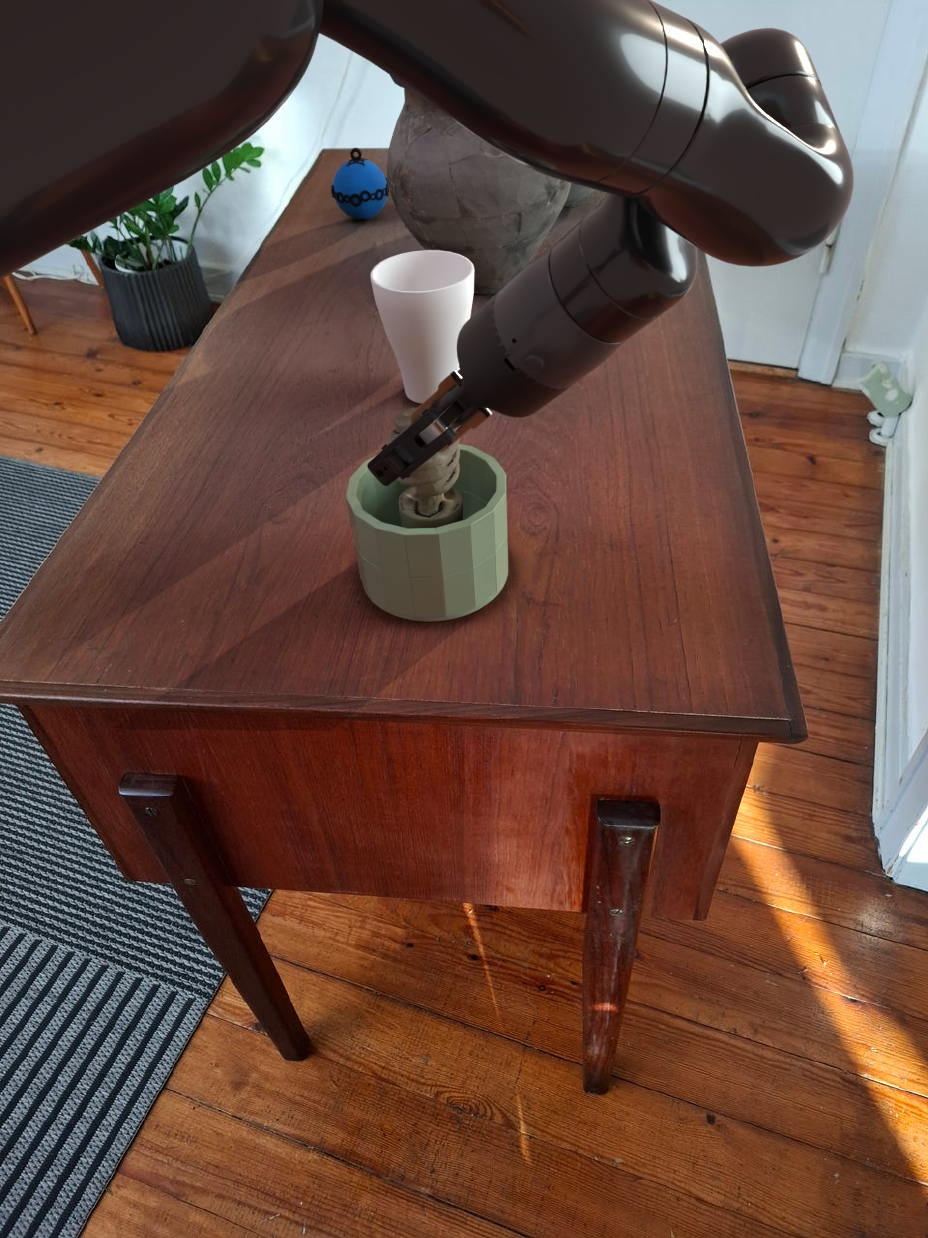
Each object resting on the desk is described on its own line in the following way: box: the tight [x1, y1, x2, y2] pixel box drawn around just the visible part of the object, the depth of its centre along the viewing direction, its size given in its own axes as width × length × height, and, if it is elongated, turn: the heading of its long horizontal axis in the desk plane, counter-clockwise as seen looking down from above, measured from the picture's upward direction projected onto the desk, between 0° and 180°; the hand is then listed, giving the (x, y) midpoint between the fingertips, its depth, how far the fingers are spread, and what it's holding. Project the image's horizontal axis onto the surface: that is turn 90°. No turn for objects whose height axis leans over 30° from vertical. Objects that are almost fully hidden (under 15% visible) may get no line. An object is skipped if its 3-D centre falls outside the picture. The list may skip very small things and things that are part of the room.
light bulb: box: [387, 407, 463, 529], centre depth 71 cm, size 6×6×15 cm
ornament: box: [330, 147, 390, 221], centre depth 135 cm, size 9×9×10 cm
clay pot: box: [386, 74, 571, 296], centre depth 107 cm, size 23×25×30 cm
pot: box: [345, 443, 509, 623], centre depth 74 cm, size 13×13×9 cm
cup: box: [370, 249, 475, 405], centre depth 94 cm, size 10×10×14 cm
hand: (407, 445), depth 69 cm, fingers open, 8 cm apart
